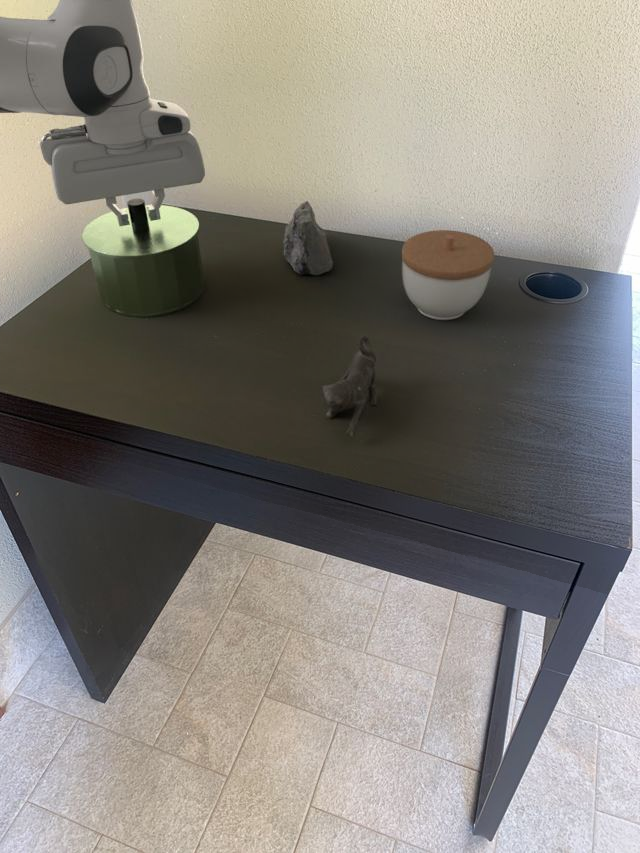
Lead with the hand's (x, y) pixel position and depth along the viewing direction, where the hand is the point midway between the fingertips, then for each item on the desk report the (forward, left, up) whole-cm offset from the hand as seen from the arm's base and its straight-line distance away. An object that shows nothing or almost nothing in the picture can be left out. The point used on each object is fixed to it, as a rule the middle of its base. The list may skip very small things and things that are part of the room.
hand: (139, 221), depth 98 cm
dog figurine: (+16, -38, -11) cm, 43 cm away
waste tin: (0, 0, -11) cm, 11 cm away
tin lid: (0, 0, -2) cm, 2 cm away
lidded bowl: (+38, -22, -11) cm, 45 cm away
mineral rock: (+26, 0, -11) cm, 28 cm away
